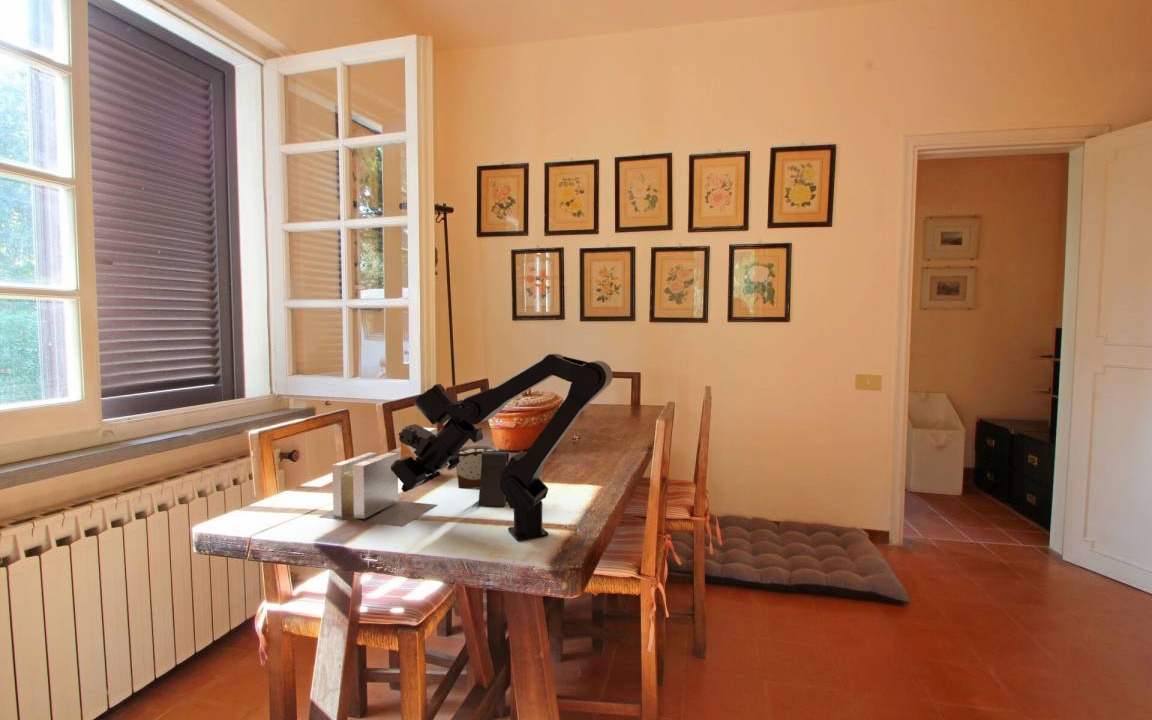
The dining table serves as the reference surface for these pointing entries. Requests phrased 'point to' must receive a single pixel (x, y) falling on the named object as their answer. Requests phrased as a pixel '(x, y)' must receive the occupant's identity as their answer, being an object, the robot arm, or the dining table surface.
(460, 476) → the brown cake slice
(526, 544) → the dining table surface
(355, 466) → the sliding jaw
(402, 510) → the vise base
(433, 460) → the robot arm
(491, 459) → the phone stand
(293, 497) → the dining table surface
